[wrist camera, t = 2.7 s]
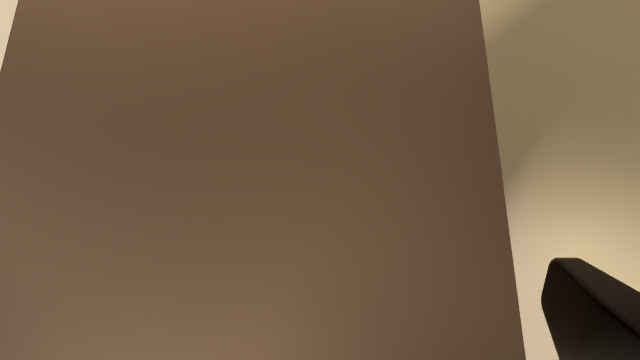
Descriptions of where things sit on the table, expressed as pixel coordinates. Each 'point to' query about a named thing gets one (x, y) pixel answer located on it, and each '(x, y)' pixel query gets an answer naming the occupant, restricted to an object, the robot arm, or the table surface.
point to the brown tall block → (252, 183)
